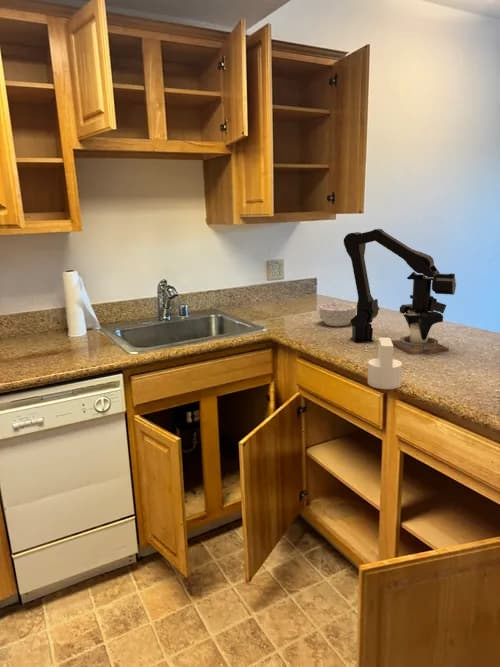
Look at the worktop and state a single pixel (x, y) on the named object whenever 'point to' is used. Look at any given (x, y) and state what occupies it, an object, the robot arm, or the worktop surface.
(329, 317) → the white bowl
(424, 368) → the worktop surface
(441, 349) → the collar base
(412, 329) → the cap
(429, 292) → the robot arm
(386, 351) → the cylinder with rectangular tab
